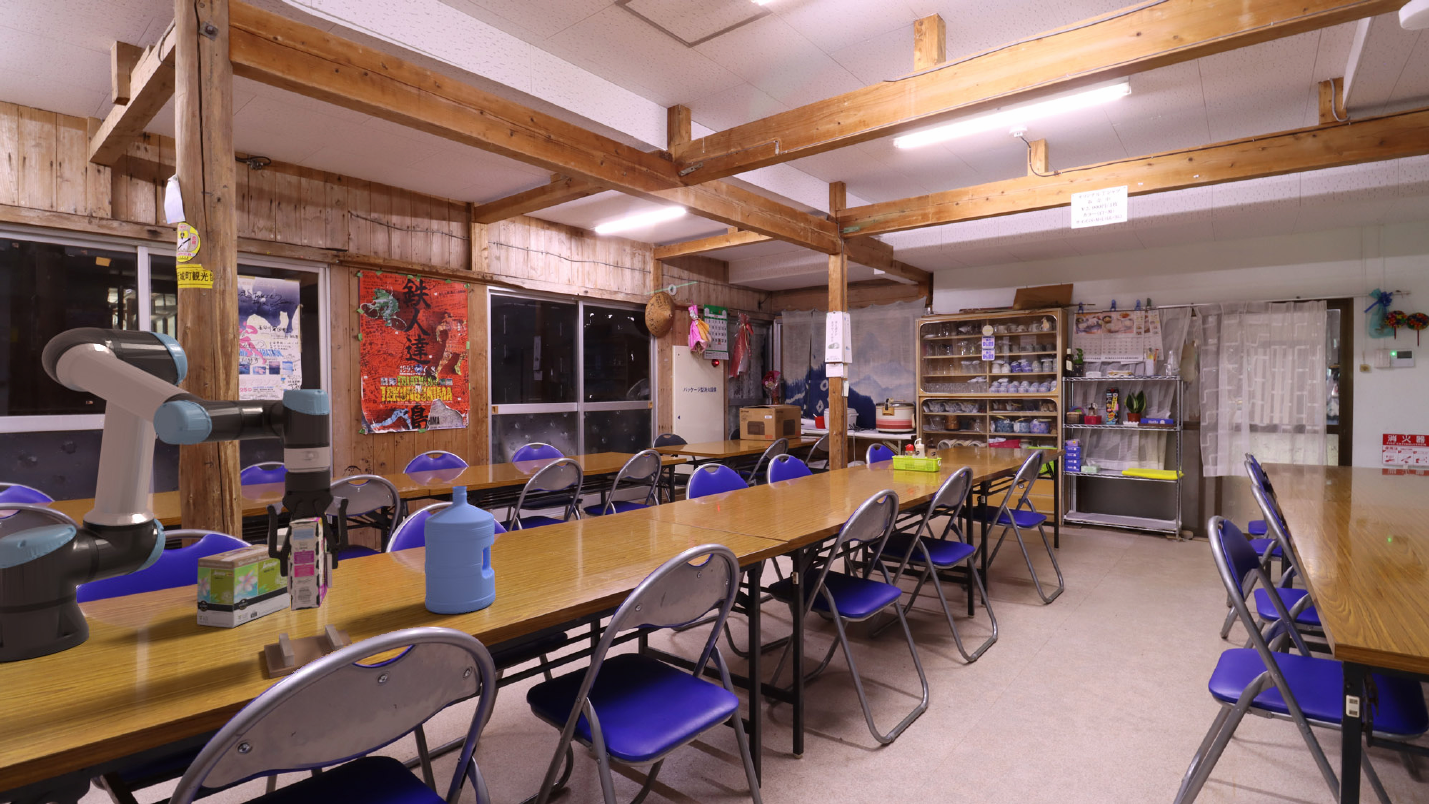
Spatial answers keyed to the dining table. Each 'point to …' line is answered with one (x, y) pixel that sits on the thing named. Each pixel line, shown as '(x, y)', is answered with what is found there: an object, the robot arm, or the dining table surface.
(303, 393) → the robot arm
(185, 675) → the dining table surface
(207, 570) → the tea box
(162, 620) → the dining table surface
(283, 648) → the brown flat ridged block
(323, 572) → the candy bar box
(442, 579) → the water jug
